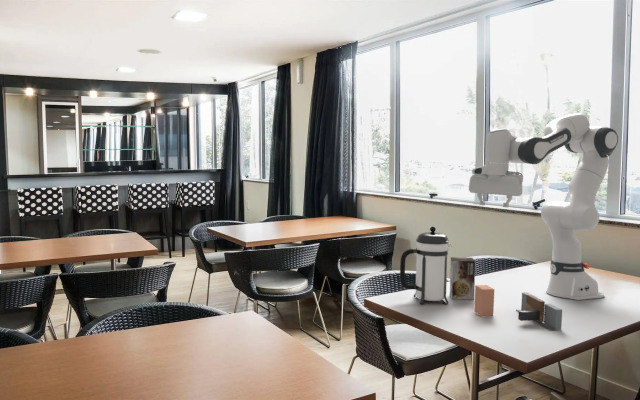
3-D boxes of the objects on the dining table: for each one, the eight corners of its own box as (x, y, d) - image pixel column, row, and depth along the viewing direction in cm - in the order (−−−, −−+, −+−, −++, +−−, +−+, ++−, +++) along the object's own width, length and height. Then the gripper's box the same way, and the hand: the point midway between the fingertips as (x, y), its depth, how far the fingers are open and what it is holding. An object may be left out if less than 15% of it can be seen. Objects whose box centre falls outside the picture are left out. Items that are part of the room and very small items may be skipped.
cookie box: (471, 295, 218) (472, 257, 216) (474, 300, 211) (476, 260, 210) (449, 294, 219) (450, 256, 217) (451, 299, 212) (452, 259, 211)
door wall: (526, 310, 198) (527, 292, 197) (561, 330, 176) (562, 309, 175) (516, 310, 197) (516, 292, 196) (549, 330, 175) (550, 310, 175)
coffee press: (423, 293, 220) (425, 222, 218) (456, 301, 209) (459, 226, 206) (398, 301, 208) (400, 226, 205) (432, 310, 197) (435, 231, 194)
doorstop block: (485, 311, 196) (486, 285, 195) (493, 316, 190) (494, 289, 190) (474, 311, 196) (475, 285, 195) (481, 316, 190) (482, 289, 189)
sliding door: (529, 313, 191) (530, 294, 190) (543, 321, 182) (544, 301, 181) (507, 314, 190) (508, 295, 189) (520, 322, 181) (521, 302, 180)
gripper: (526, 171, 198) (523, 208, 199) (475, 169, 211) (472, 203, 212) (520, 171, 193) (517, 209, 194) (468, 169, 206) (466, 204, 207)
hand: (493, 206), depth 203 cm, fingers open, 8 cm apart
